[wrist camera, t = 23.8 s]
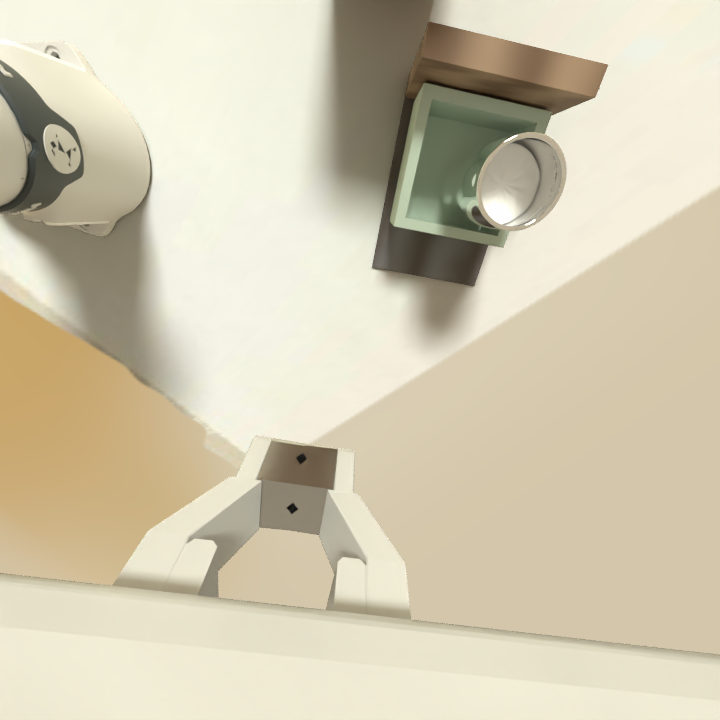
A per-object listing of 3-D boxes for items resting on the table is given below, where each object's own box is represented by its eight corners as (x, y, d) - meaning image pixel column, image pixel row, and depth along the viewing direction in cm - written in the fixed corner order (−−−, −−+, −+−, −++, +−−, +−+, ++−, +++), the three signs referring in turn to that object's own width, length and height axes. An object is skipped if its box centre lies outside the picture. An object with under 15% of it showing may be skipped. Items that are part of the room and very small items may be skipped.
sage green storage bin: (389, 221, 41) (393, 226, 34) (413, 102, 35) (424, 82, 29) (482, 239, 42) (503, 247, 35) (520, 125, 36) (552, 111, 30)
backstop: (372, 266, 44) (374, 290, 33) (409, 74, 35) (429, 21, 24) (473, 285, 45) (507, 314, 34) (535, 103, 36) (608, 64, 25)
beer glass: (480, 227, 40) (538, 245, 27) (427, 209, 39) (458, 217, 26) (508, 164, 37) (589, 147, 24) (451, 142, 36) (501, 113, 23)
